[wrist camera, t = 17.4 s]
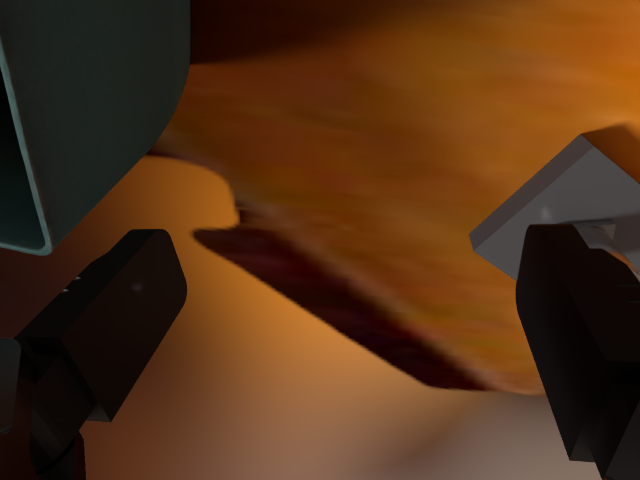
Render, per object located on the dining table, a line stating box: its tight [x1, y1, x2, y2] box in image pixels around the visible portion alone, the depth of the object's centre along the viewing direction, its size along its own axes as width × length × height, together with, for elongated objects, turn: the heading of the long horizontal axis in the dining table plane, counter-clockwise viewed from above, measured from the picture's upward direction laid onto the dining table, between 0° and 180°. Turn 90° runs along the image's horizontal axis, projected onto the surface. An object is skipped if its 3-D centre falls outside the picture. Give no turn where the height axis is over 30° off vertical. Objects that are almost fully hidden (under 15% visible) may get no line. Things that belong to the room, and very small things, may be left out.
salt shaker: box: [557, 219, 640, 281], centre depth 39 cm, size 5×5×11 cm
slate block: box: [469, 134, 640, 281], centre depth 46 cm, size 15×15×4 cm
